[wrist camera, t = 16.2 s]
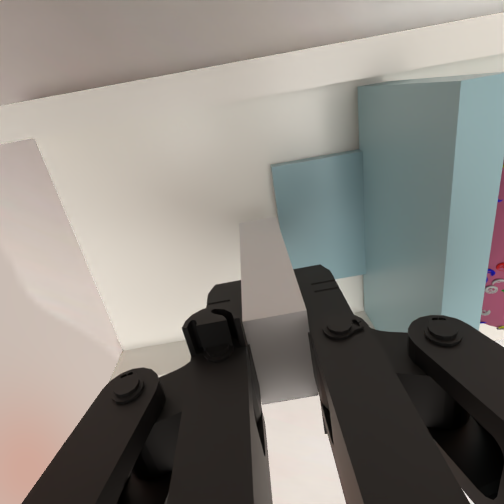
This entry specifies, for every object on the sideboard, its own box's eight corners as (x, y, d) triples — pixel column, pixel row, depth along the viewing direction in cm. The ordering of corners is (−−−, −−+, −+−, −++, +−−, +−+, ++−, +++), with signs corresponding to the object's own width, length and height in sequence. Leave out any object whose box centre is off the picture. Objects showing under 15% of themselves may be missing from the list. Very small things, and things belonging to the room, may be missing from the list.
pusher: (261, 103, 14) (284, 113, 8) (385, 81, 14) (516, 70, 7) (292, 320, 19) (322, 440, 12) (385, 305, 19) (465, 418, 12)
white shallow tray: (31, 105, 15) (-19, 109, 12) (628, -5, 14) (733, -31, 11) (133, 357, 20) (116, 400, 18) (555, 288, 20) (611, 322, 17)
